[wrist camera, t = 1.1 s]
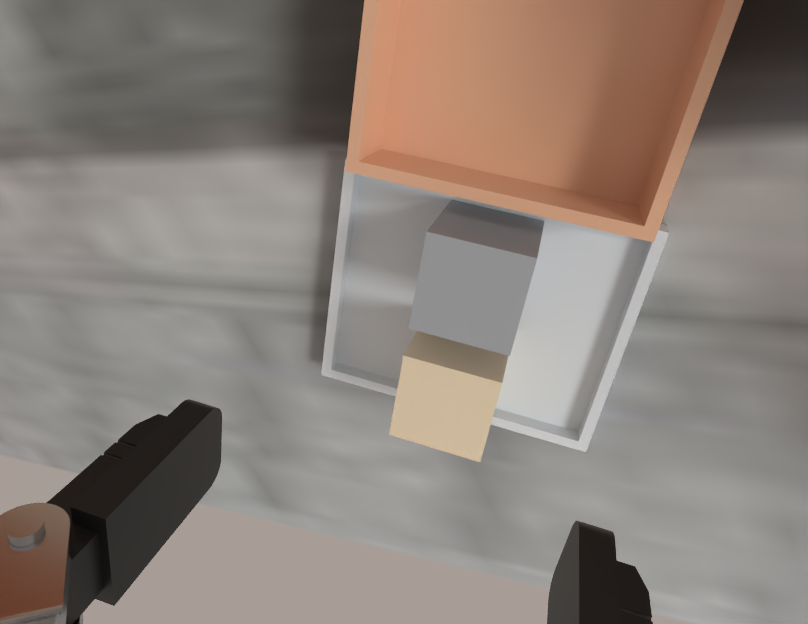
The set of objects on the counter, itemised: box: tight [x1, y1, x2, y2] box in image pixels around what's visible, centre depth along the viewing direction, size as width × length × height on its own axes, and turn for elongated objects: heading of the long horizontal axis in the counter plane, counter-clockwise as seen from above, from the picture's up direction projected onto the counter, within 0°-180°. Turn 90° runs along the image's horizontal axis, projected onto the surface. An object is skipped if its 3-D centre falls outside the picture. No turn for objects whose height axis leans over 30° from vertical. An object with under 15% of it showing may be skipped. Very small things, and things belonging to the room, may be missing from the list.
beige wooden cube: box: [389, 331, 508, 462], centre depth 28 cm, size 4×4×5 cm
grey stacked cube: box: [408, 200, 544, 356], centre depth 25 cm, size 4×4×5 cm
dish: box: [345, 0, 744, 242], centre depth 22 cm, size 12×11×4 cm
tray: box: [321, 159, 669, 452], centre depth 28 cm, size 14×12×1 cm
